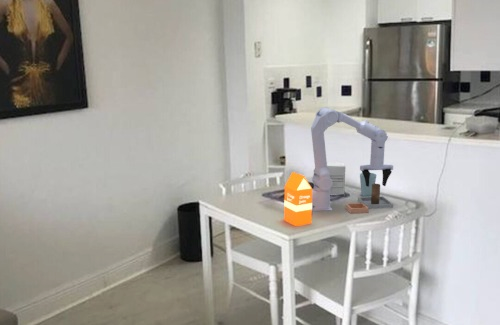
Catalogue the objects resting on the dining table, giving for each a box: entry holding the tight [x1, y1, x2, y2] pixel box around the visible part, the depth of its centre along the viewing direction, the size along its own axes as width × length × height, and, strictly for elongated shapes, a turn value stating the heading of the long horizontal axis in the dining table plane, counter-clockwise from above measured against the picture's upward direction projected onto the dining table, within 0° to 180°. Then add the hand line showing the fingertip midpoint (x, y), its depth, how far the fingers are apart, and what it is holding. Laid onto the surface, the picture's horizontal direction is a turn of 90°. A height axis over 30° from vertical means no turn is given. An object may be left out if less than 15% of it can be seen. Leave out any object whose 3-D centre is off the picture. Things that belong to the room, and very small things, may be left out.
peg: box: [371, 183, 381, 204], centre depth 233 cm, size 4×4×9 cm
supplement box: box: [327, 161, 346, 195], centre depth 251 cm, size 9×9×15 cm
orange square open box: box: [344, 202, 370, 214], centre depth 225 cm, size 8×8×3 cm
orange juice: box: [283, 171, 313, 227], centre depth 210 cm, size 8×9×20 cm
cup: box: [359, 172, 377, 197], centre depth 248 cm, size 8×8×10 cm
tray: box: [357, 196, 394, 209], centre depth 234 cm, size 12×12×2 cm
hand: (375, 185), depth 232 cm, fingers open, 7 cm apart
